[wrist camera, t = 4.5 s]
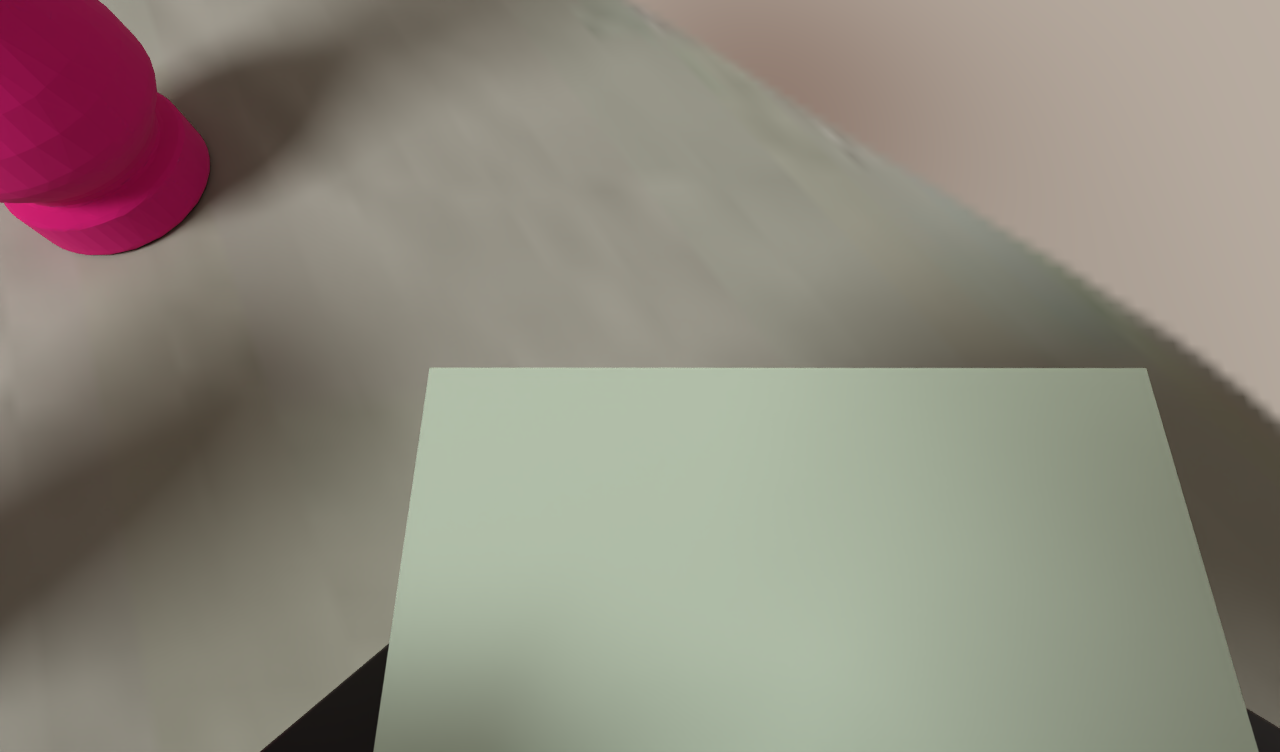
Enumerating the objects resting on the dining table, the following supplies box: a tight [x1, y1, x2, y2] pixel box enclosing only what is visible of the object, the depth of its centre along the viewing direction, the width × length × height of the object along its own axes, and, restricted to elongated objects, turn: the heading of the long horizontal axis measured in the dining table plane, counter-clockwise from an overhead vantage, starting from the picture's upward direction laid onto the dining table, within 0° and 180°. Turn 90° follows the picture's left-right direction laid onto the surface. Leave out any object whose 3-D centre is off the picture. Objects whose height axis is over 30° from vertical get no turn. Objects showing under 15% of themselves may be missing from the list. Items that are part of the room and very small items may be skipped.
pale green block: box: [373, 368, 1259, 752], centre depth 10 cm, size 6×6×11 cm
